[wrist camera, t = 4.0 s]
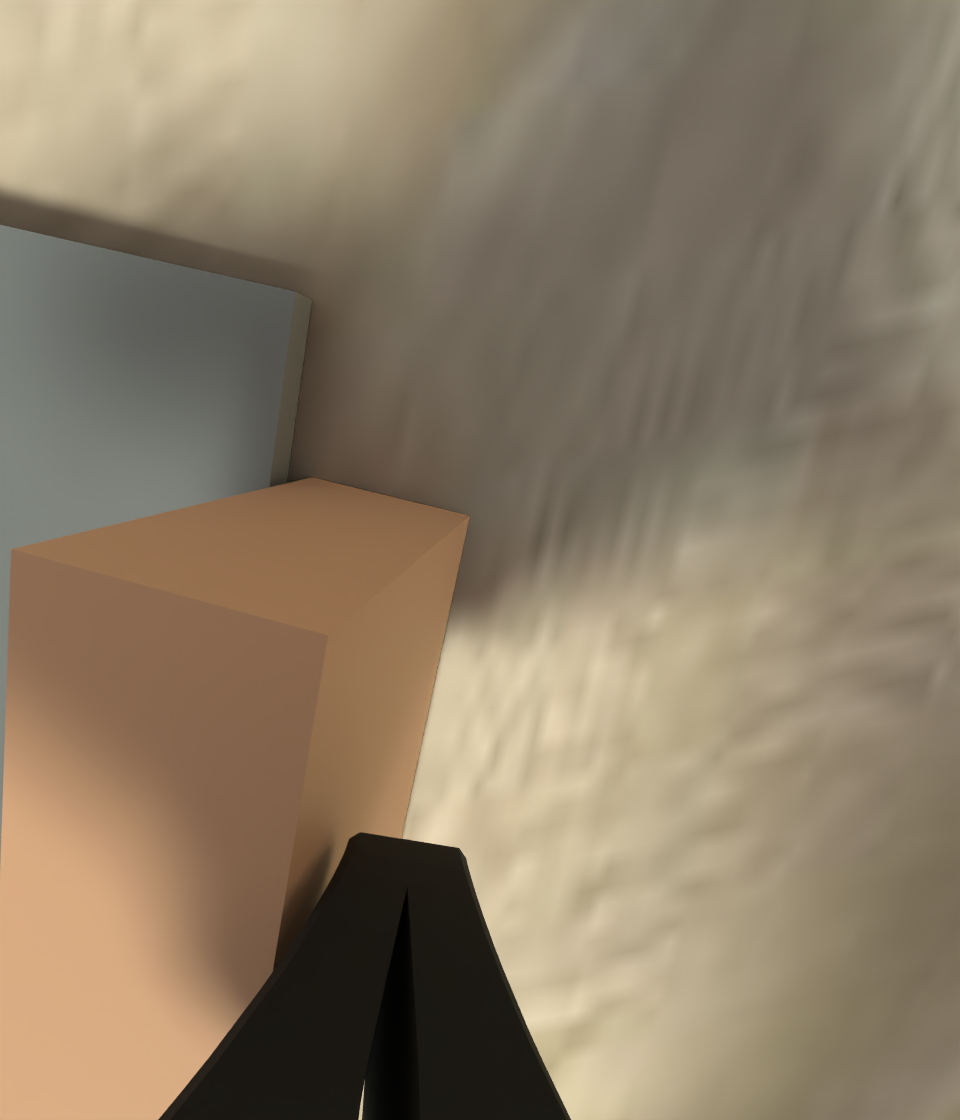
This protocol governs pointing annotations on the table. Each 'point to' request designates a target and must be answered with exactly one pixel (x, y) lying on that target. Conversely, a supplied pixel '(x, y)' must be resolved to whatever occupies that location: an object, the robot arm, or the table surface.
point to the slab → (197, 768)
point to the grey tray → (133, 392)
